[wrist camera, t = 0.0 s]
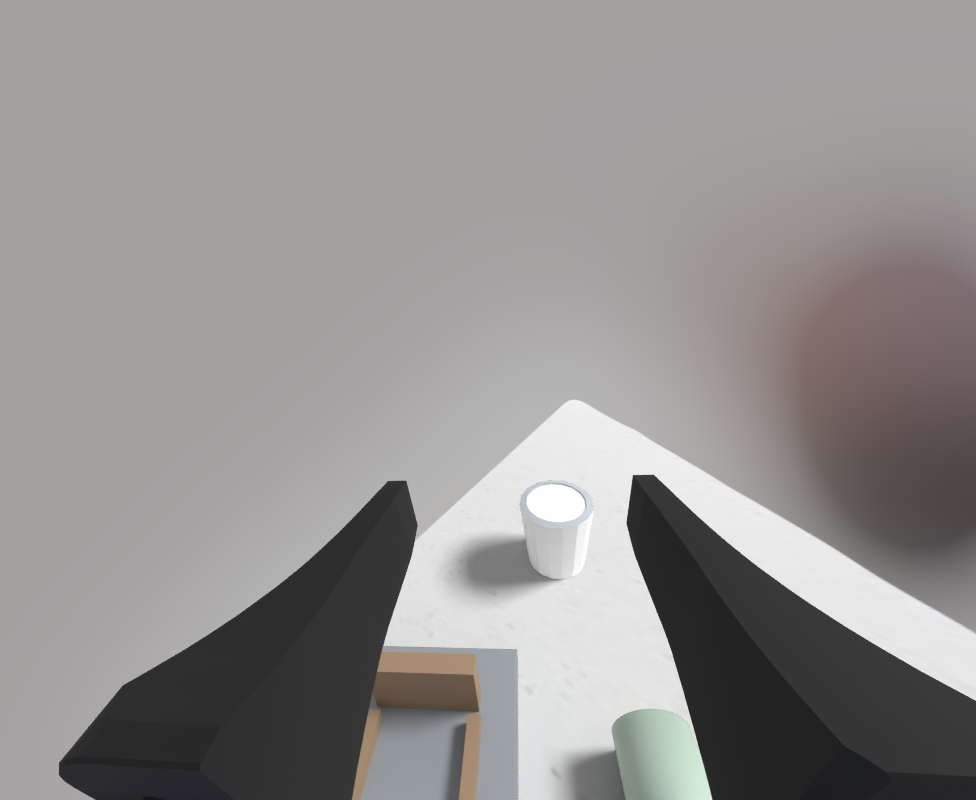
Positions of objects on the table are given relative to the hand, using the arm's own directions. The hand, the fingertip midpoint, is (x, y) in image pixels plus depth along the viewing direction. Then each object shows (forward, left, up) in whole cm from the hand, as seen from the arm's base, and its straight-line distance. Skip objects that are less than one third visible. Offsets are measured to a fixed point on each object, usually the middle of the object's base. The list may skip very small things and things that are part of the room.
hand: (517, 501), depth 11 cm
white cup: (+18, -3, -22) cm, 29 cm away
